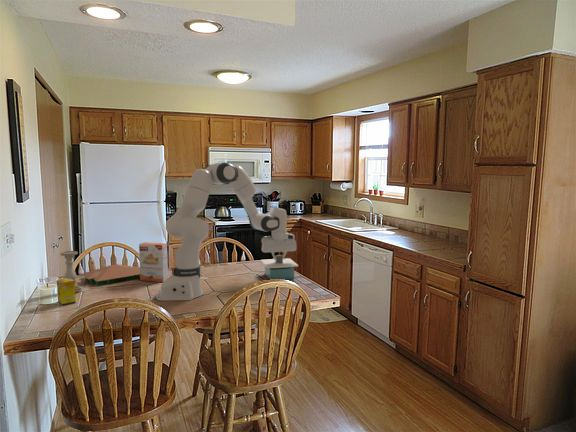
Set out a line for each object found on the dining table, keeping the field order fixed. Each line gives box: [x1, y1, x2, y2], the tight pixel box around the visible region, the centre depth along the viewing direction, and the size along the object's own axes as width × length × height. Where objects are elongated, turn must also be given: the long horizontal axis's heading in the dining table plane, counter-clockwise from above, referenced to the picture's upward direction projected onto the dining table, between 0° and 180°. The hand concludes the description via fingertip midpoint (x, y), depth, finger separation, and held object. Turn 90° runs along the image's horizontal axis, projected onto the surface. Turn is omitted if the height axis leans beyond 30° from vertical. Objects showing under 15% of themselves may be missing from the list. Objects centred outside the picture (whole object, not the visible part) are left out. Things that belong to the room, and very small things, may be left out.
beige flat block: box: [82, 263, 140, 286], centre depth 234 cm, size 23×33×8 cm
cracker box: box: [138, 241, 169, 283], centre depth 228 cm, size 14×6×21 cm, turn 79°
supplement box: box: [56, 278, 76, 307], centre depth 190 cm, size 6×6×11 cm
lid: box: [260, 254, 299, 268], centre depth 238 cm, size 18×18×5 cm
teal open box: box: [264, 266, 295, 280], centre depth 239 cm, size 14×14×6 cm
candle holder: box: [60, 250, 82, 294], centre depth 206 cm, size 9×9×20 cm
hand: (279, 259), depth 238 cm, fingers closed on lid, 3 cm apart
